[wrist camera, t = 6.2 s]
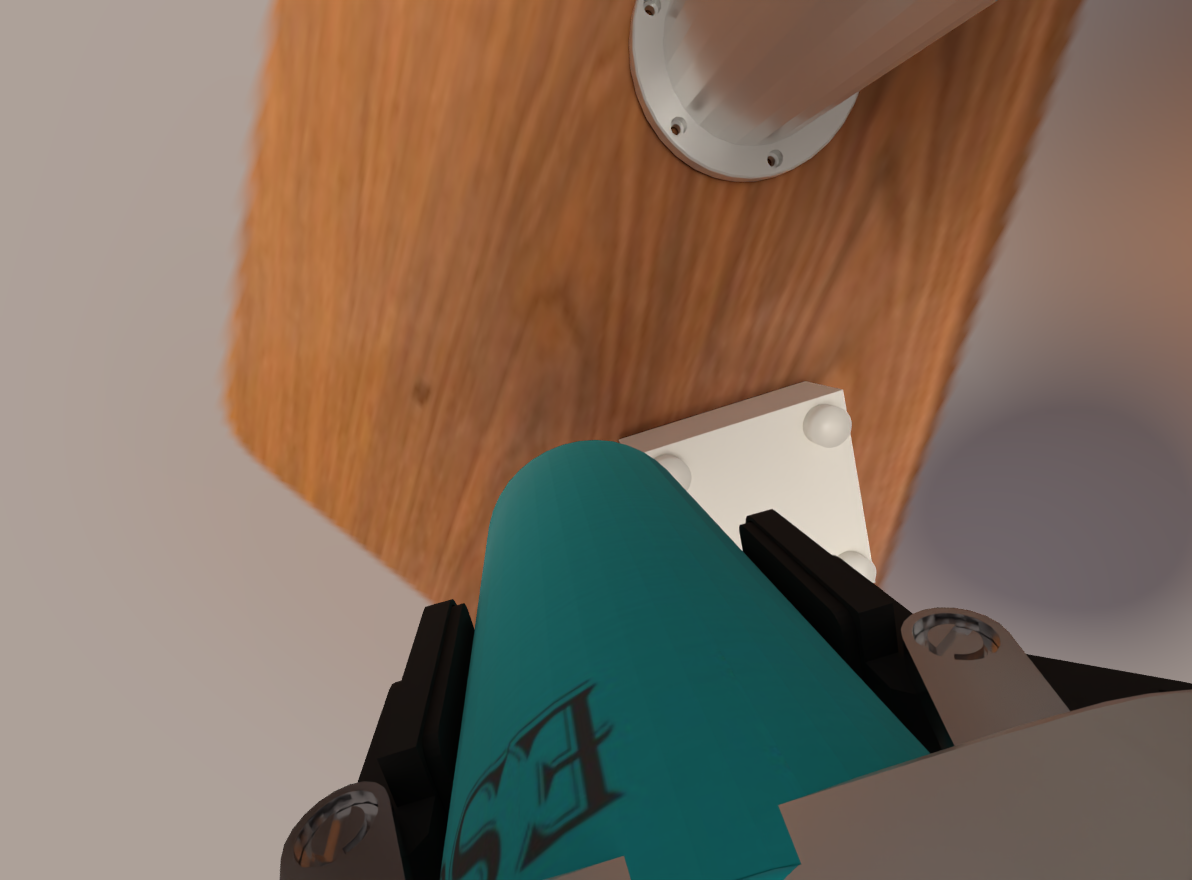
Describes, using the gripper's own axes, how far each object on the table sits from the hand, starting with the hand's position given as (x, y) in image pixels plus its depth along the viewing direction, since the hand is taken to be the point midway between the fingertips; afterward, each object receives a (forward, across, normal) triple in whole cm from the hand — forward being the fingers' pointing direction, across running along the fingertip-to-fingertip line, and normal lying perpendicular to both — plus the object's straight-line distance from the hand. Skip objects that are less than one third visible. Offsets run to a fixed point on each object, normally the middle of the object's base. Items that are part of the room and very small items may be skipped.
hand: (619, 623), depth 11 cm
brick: (+21, -10, +8) cm, 25 cm away
